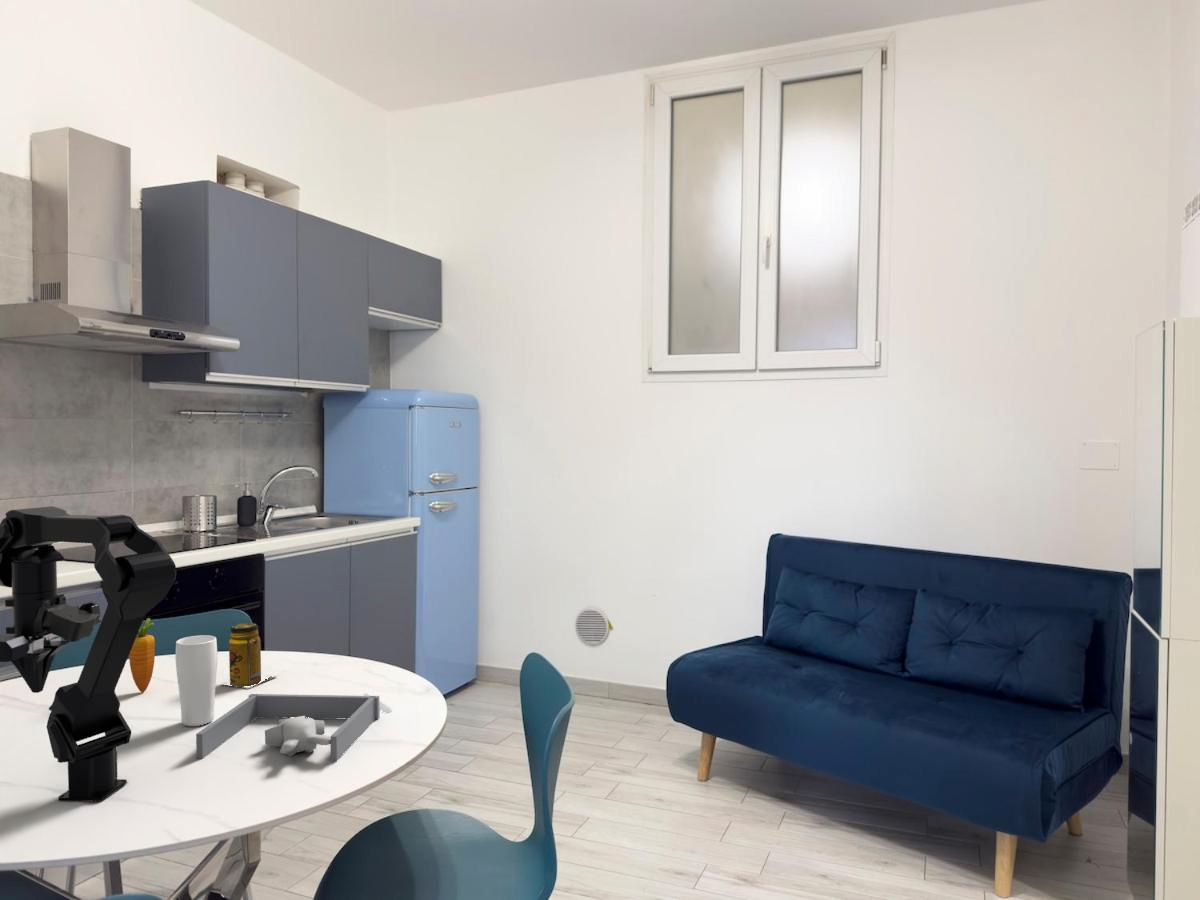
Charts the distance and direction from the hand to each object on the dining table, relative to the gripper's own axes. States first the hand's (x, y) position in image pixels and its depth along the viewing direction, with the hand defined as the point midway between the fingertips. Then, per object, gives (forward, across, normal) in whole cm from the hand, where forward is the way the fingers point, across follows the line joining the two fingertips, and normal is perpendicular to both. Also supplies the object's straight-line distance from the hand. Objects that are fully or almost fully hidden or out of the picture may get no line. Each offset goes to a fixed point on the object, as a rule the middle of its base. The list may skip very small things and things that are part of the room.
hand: (37, 691), depth 131 cm
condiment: (+13, +48, -10) cm, 51 cm away
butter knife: (+14, +42, -36) cm, 57 cm away
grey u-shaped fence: (+13, +18, -32) cm, 39 cm away
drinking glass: (+13, +24, -12) cm, 30 cm away
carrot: (+13, +40, +8) cm, 43 cm away
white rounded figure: (+13, +13, -35) cm, 40 cm away
